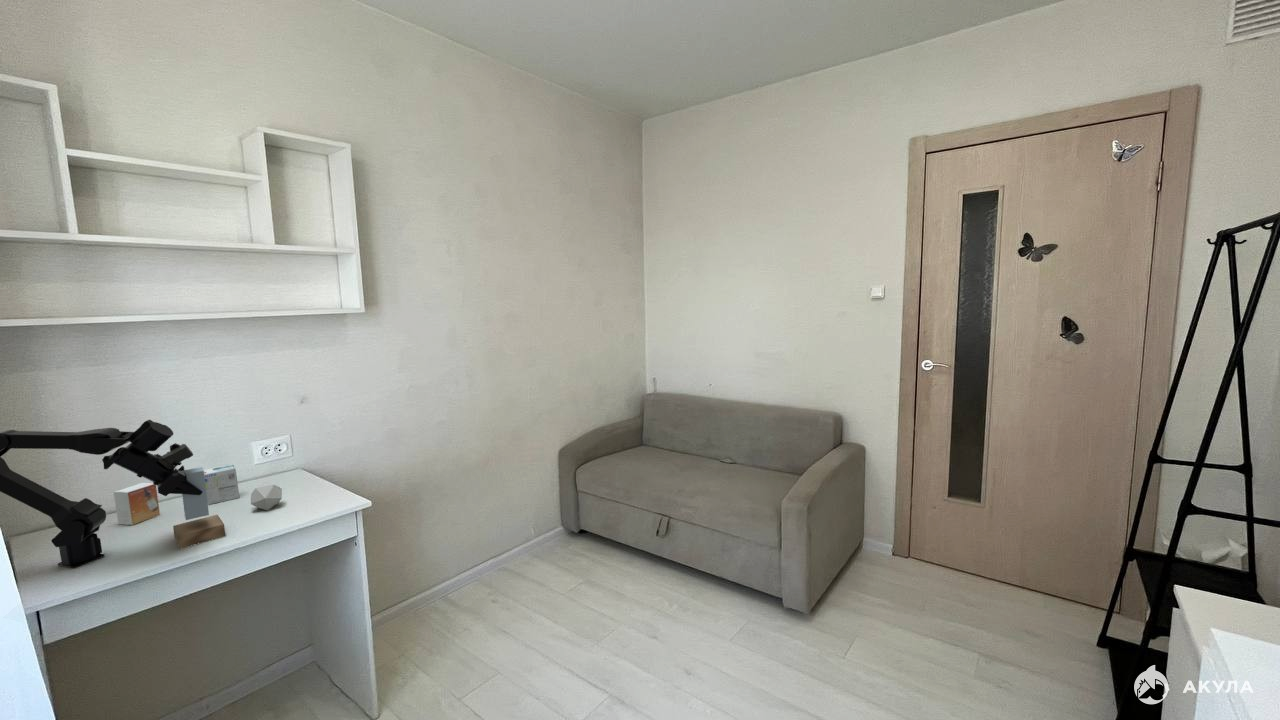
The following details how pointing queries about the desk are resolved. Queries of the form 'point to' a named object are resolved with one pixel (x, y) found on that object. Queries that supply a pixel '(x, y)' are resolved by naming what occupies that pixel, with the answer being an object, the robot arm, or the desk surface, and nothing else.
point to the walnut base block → (198, 531)
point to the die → (266, 496)
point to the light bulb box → (221, 484)
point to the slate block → (195, 503)
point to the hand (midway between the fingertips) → (200, 491)
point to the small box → (136, 503)
